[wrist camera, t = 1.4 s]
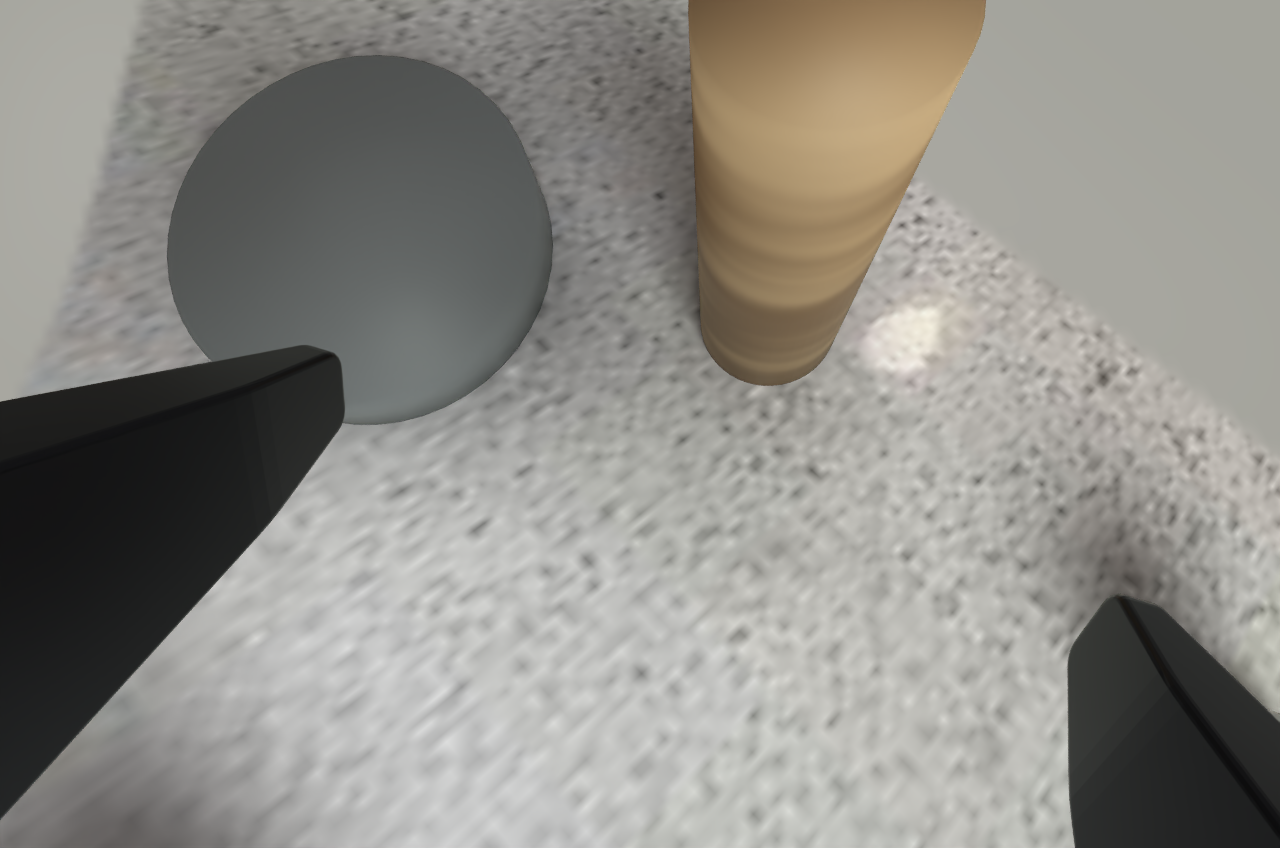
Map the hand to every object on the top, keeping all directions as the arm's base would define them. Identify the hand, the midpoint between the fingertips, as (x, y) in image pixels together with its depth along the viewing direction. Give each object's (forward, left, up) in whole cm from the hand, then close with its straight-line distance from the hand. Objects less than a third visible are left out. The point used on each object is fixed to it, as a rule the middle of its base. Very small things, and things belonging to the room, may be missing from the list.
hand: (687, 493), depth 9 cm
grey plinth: (+10, +10, -13) cm, 19 cm away
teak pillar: (+7, -2, -13) cm, 15 cm away
